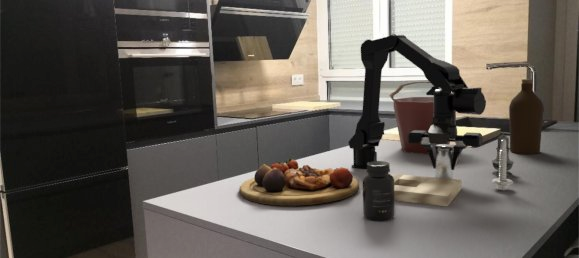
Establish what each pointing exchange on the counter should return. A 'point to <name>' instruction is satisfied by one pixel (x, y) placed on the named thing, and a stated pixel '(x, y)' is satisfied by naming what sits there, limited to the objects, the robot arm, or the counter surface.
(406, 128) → the bucket
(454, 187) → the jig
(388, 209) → the supplement bottle
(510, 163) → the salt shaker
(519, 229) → the counter surface
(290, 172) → the wooden plate with food
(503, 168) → the screw
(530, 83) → the olive oil
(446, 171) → the grey cylindrical piece
